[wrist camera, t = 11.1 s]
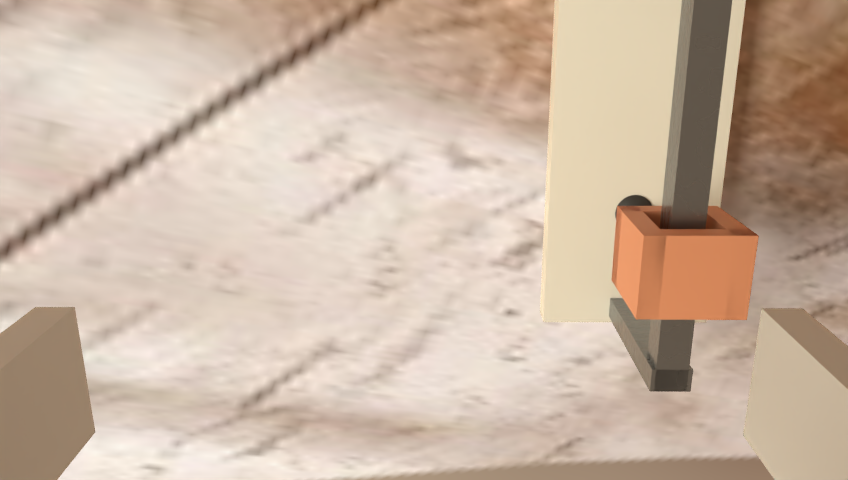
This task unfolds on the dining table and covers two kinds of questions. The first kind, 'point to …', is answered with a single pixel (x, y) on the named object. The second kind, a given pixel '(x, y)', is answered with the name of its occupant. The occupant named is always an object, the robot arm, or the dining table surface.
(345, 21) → the dining table surface
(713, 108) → the grey slider rail frame
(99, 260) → the dining table surface
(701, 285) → the slider sleeve
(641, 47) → the hole board
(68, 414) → the robot arm
